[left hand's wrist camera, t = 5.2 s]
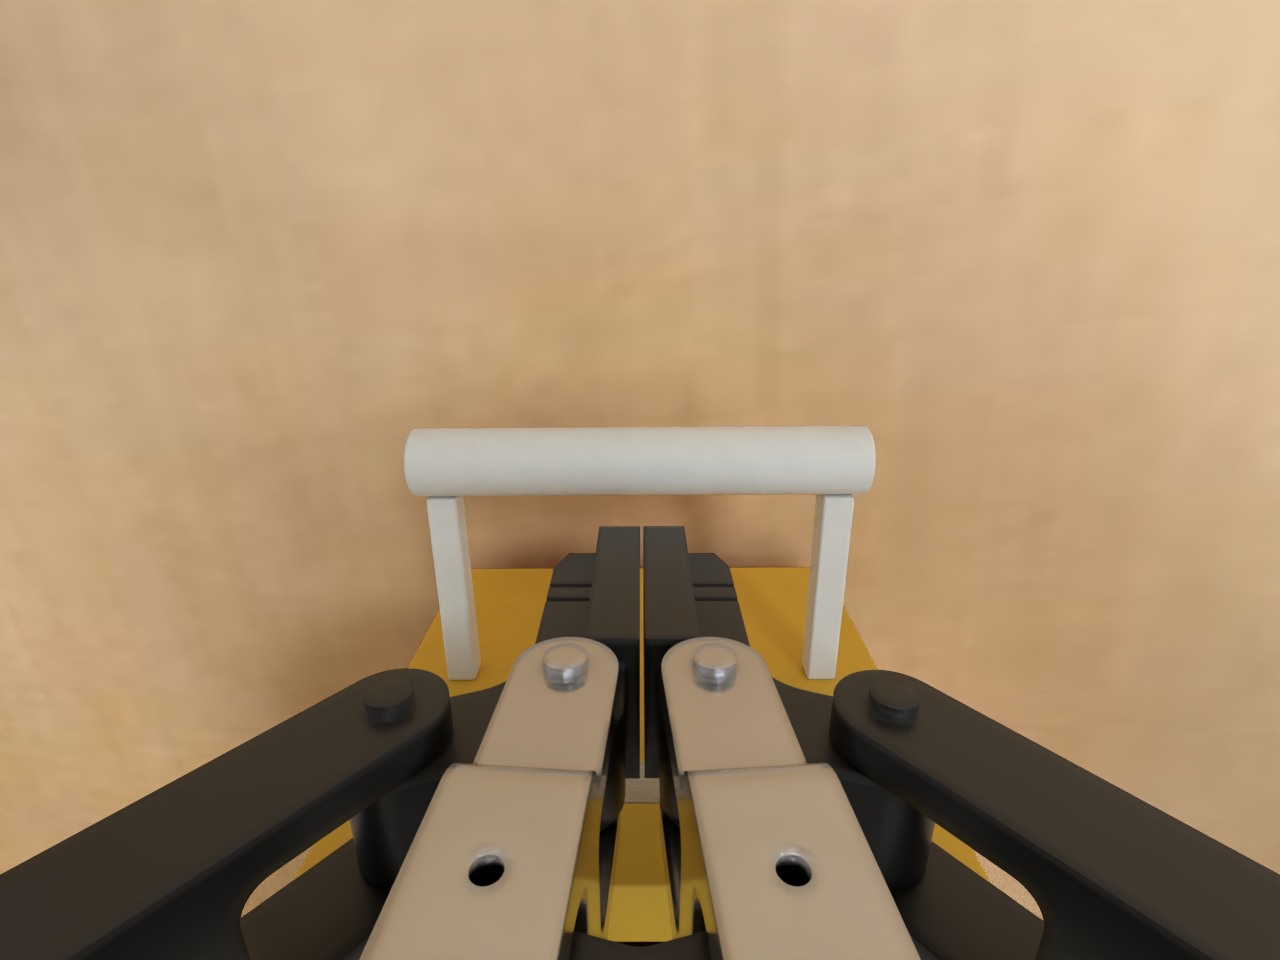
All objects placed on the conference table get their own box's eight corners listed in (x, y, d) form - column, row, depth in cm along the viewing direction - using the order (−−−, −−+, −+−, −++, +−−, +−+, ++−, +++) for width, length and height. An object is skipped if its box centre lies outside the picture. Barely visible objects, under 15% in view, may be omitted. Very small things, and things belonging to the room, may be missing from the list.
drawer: (438, 377, 17) (203, 550, 8) (842, 374, 17) (1074, 545, 8) (506, 987, 25) (426, 1429, 16) (783, 987, 25) (865, 1431, 16)
